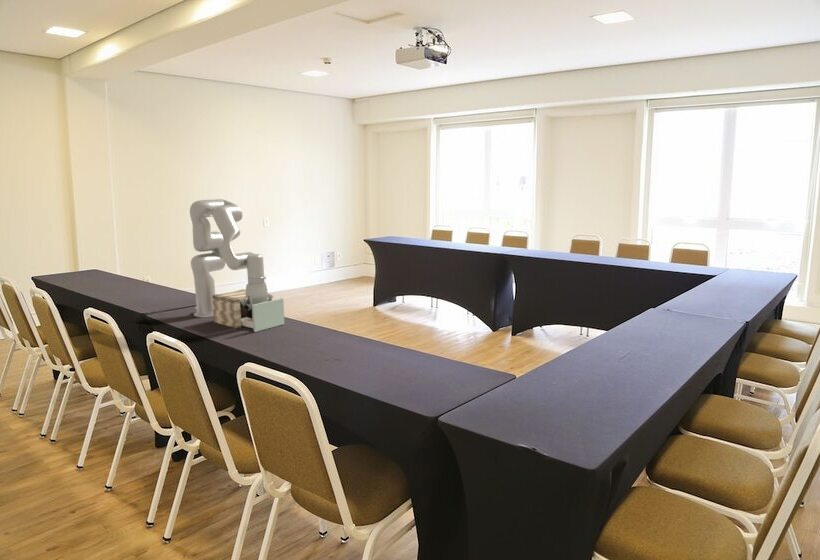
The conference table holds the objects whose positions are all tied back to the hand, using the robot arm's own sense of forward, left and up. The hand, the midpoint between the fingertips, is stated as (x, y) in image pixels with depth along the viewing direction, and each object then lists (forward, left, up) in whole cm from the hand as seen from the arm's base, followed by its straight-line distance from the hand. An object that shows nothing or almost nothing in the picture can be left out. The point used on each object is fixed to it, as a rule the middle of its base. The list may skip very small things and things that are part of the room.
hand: (258, 315), depth 273 cm
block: (0, 0, -4) cm, 4 cm away
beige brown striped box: (-14, 0, -5) cm, 15 cm away
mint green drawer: (0, 0, -5) cm, 5 cm away
